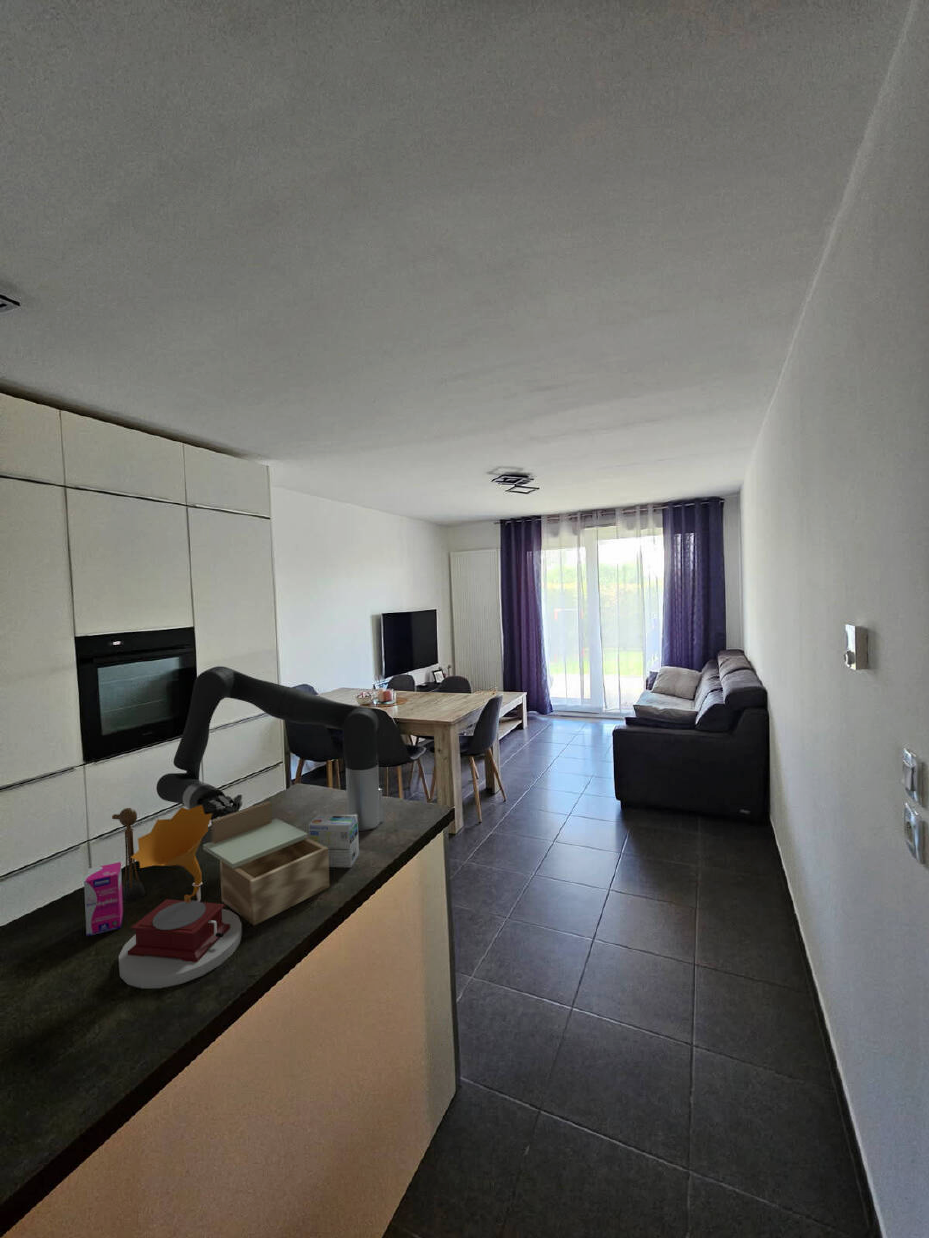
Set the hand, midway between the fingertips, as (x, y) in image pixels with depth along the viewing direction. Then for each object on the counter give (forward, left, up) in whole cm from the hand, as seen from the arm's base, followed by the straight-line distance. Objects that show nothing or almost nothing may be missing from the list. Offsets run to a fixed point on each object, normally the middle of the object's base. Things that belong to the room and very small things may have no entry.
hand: (234, 815), depth 130 cm
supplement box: (+28, +1, -13) cm, 31 cm away
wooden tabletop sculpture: (+21, -7, -13) cm, 26 cm away
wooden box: (0, +18, -13) cm, 22 cm away
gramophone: (+21, +21, -13) cm, 33 cm away
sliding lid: (0, +10, -4) cm, 11 cm away
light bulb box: (-17, +16, -13) cm, 27 cm away
